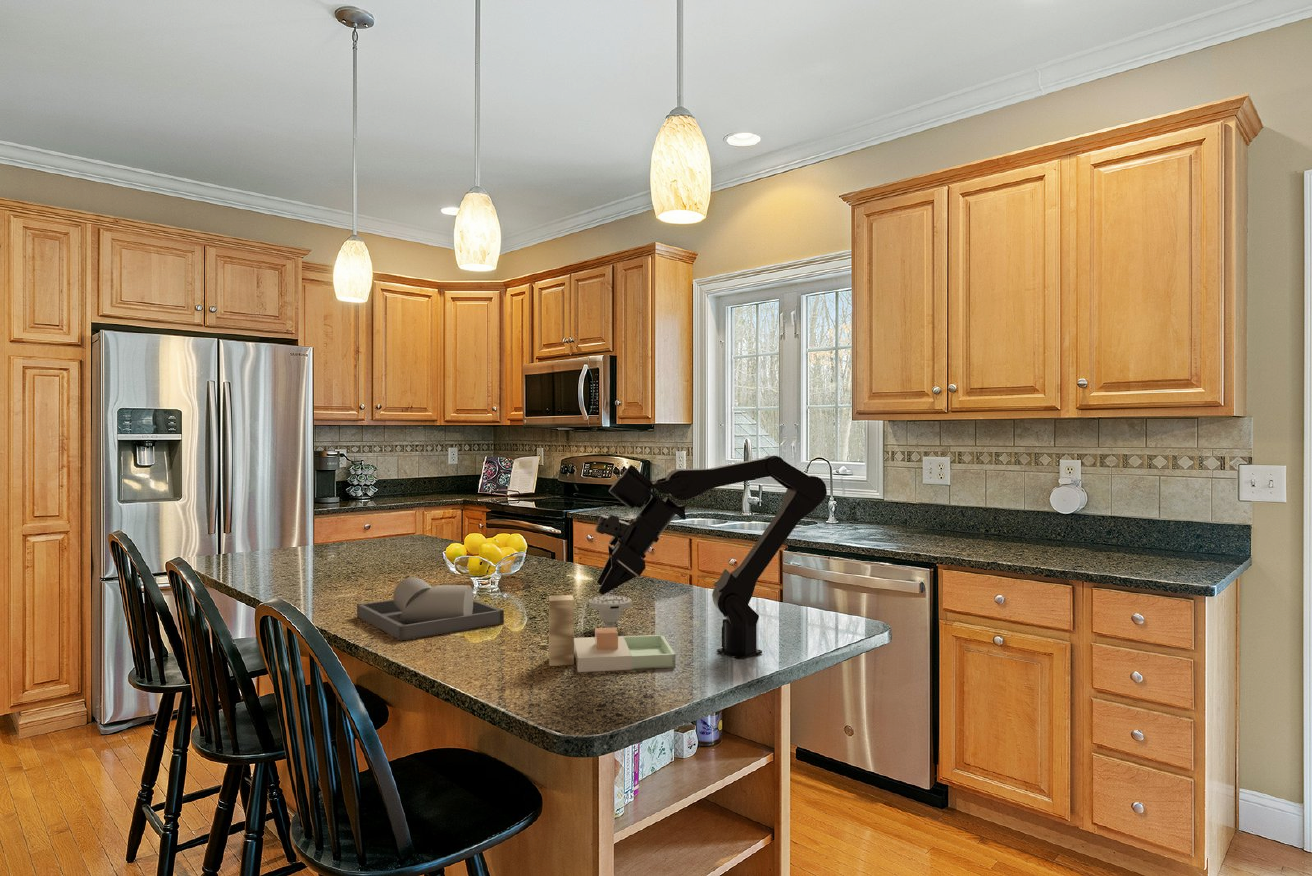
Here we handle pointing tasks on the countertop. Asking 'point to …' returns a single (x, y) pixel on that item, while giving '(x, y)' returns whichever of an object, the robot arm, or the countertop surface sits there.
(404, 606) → the elbow connector
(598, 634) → the peach rectangular box
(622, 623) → the countertop surface
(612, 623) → the showerhead
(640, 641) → the tray
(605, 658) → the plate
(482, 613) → the divided desk organizer
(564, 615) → the block
